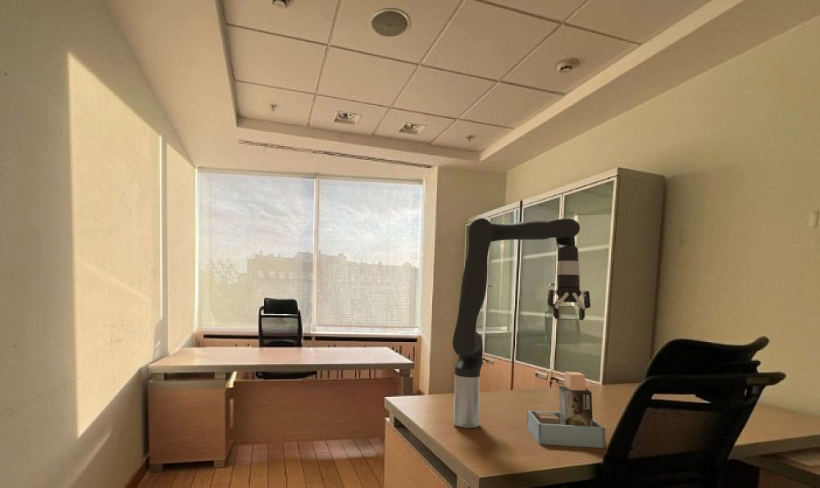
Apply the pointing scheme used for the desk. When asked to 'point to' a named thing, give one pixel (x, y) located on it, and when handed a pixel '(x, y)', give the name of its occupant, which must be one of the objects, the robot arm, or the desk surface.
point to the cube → (574, 381)
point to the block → (547, 418)
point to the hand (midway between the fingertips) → (568, 319)
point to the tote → (565, 432)
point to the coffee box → (575, 407)
